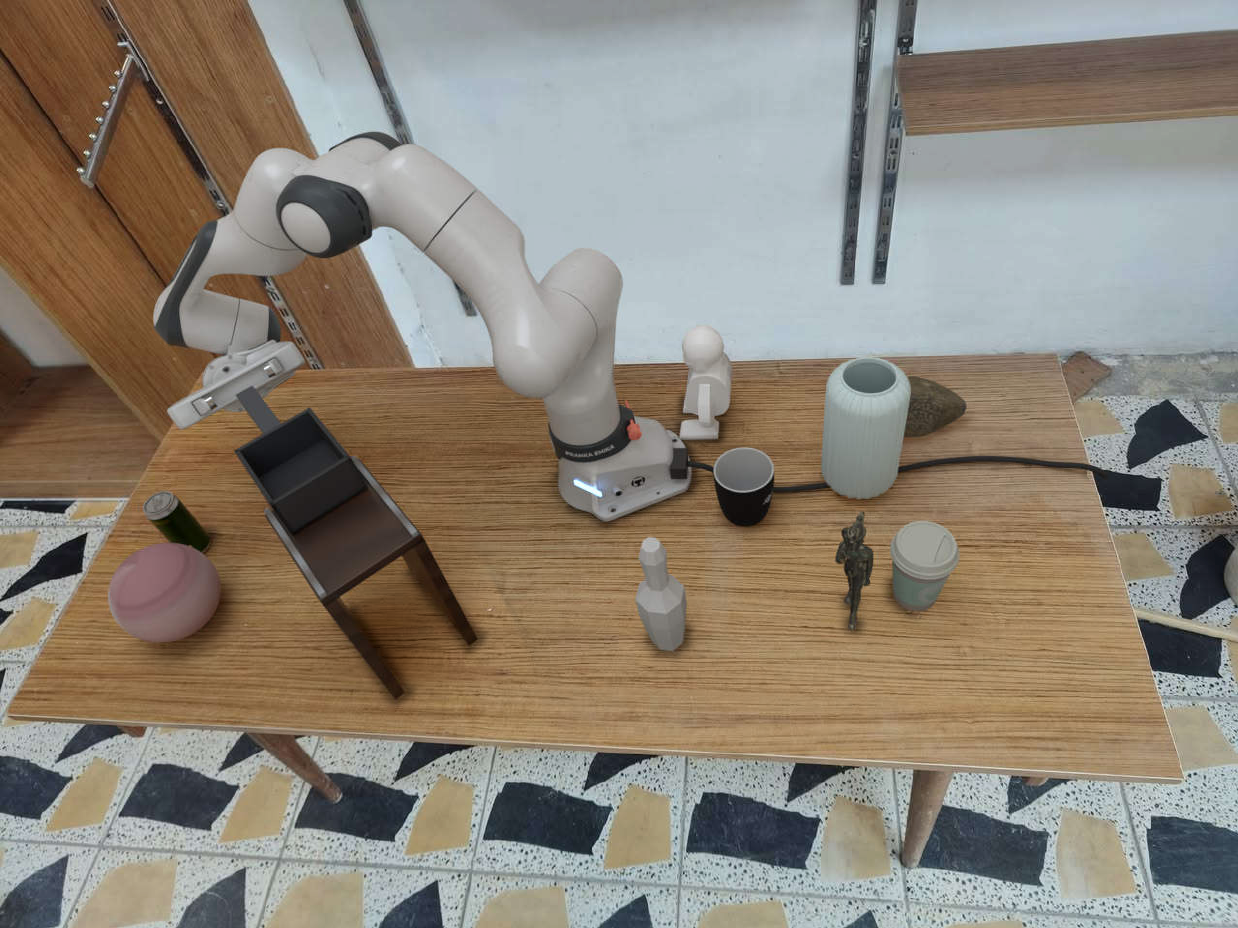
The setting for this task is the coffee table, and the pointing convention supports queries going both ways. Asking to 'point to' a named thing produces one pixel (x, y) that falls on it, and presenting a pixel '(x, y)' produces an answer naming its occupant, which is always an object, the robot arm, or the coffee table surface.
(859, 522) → the statue
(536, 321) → the robot arm
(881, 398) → the vase
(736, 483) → the mug
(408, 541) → the stand
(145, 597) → the pink rounded ball
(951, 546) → the coffee cup
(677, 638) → the faceted bottle
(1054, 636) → the coffee table surface
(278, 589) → the coffee table surface
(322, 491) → the basket
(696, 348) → the toy robot
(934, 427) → the stone
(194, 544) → the beer can
